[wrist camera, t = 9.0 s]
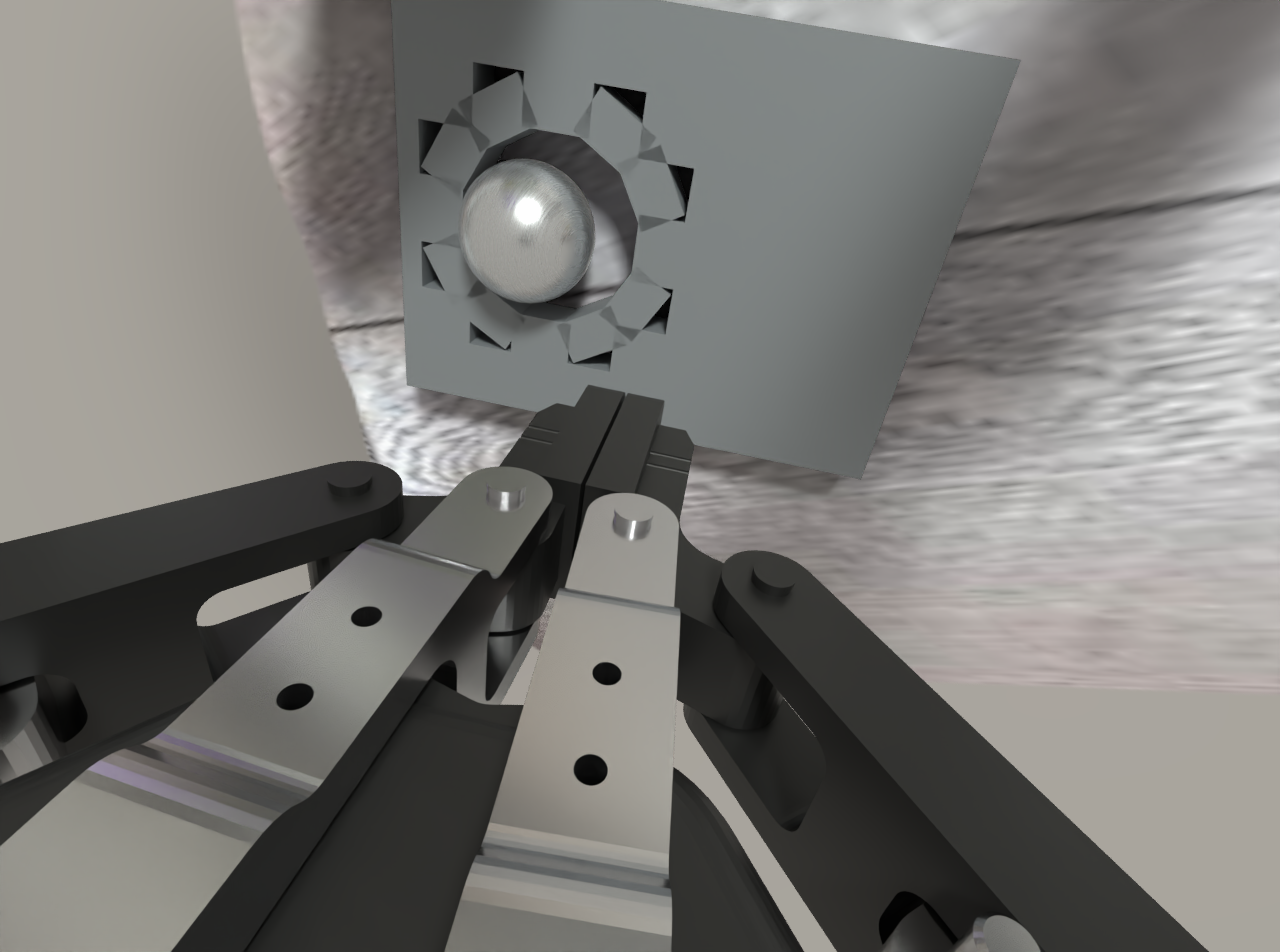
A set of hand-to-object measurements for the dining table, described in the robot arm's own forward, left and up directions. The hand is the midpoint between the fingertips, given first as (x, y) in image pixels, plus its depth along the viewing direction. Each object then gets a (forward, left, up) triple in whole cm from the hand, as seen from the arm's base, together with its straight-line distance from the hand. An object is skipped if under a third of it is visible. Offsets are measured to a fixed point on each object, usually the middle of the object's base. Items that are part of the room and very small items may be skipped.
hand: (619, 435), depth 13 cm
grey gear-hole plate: (0, -2, -21) cm, 21 cm away
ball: (0, -8, -18) cm, 19 cm away
